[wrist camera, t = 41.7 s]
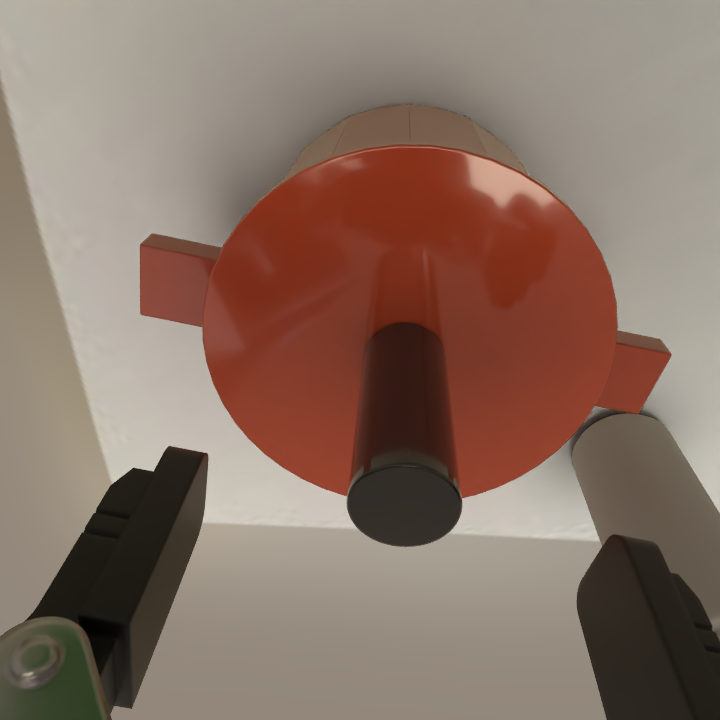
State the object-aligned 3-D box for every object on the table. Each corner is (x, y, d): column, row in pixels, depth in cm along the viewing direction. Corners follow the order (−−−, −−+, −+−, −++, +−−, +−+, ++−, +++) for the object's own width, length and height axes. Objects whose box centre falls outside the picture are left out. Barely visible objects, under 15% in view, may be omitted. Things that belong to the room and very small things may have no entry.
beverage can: (648, 391, 28) (789, 618, 18) (682, 458, 30) (827, 697, 20) (553, 432, 30) (631, 661, 19) (591, 493, 31) (680, 731, 21)
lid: (225, 89, 15) (102, 153, 9) (682, 189, 15) (861, 314, 9) (202, 447, 21) (121, 628, 15) (526, 509, 22) (572, 707, 16)
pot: (220, 58, 22) (127, 90, 14) (647, 154, 22) (763, 229, 15) (204, 318, 27) (132, 433, 20) (544, 386, 28) (592, 521, 21)
